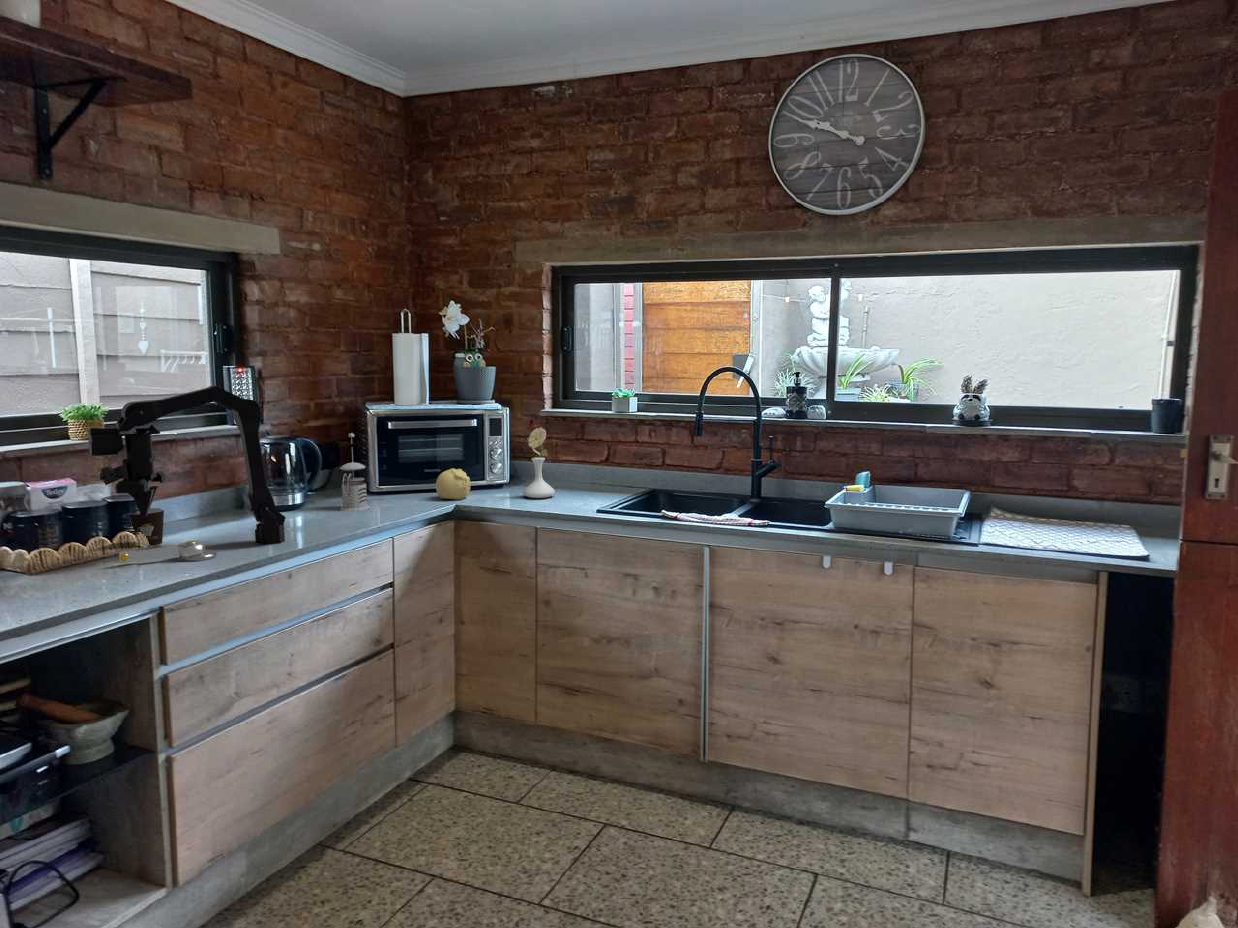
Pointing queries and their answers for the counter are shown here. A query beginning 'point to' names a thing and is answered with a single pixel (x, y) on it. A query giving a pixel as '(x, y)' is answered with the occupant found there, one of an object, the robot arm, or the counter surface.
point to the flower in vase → (538, 468)
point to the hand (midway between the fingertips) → (144, 516)
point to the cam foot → (170, 553)
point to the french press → (353, 488)
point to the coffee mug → (150, 525)
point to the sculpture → (453, 484)
